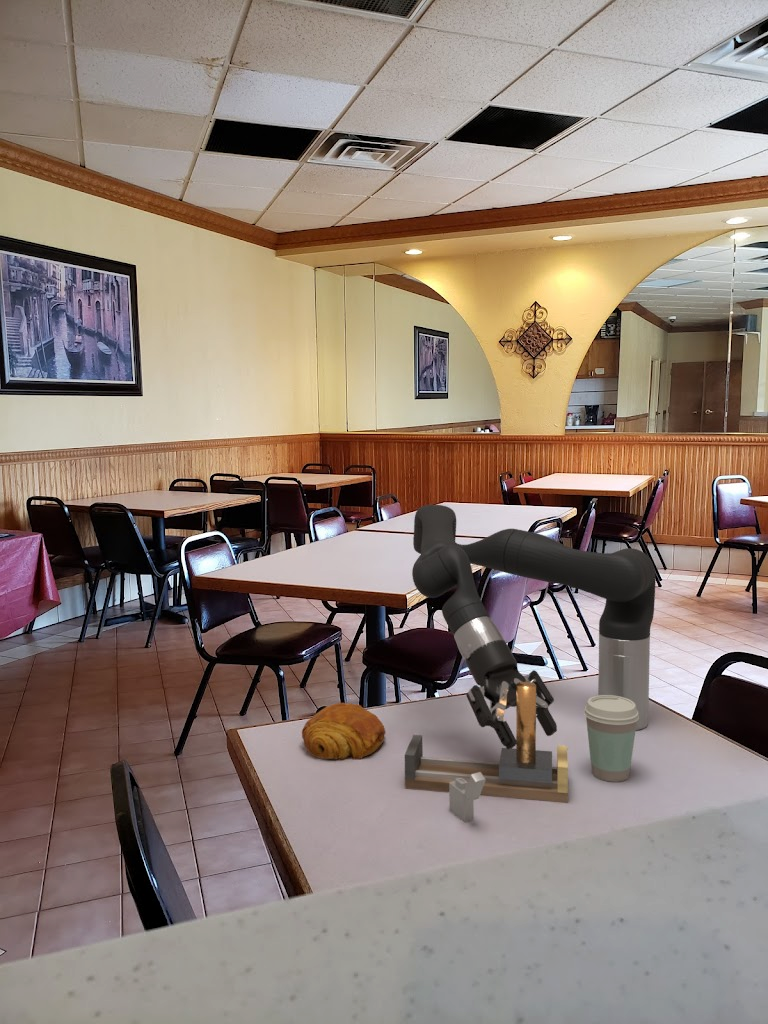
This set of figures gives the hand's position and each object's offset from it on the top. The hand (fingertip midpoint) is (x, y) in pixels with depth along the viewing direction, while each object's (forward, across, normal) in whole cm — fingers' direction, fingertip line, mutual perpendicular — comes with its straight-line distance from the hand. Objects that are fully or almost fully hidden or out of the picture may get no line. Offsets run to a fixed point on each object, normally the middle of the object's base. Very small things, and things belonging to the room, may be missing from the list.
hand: (532, 740), depth 116 cm
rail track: (+2, +4, -10) cm, 11 cm away
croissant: (-16, +16, -28) cm, 36 cm away
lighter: (+7, +14, -5) cm, 16 cm away
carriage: (+3, 0, -5) cm, 6 cm away
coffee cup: (+8, -14, -4) cm, 17 cm away
